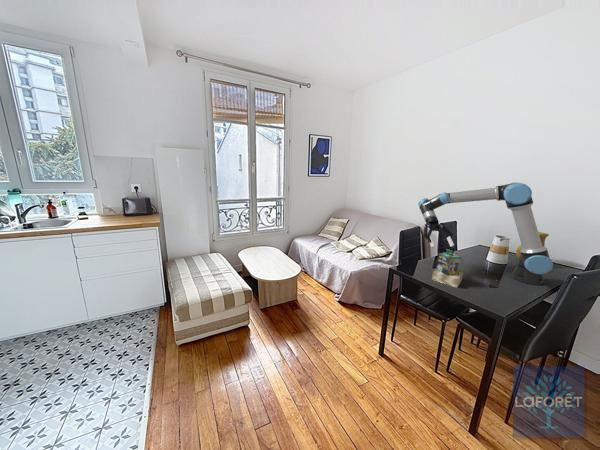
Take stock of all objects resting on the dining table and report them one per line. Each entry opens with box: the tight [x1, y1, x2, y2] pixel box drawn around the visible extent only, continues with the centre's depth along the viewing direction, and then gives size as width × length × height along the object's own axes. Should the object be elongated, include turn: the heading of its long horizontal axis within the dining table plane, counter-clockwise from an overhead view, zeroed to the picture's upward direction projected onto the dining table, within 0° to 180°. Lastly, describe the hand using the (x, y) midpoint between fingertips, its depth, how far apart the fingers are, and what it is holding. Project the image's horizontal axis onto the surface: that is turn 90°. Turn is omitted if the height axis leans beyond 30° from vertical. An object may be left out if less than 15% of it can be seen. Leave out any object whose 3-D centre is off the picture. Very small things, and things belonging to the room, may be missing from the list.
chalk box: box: [435, 248, 462, 275], centre depth 152 cm, size 9×9×15 cm
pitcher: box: [515, 231, 550, 259], centre depth 184 cm, size 17×19×25 cm
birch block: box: [431, 267, 464, 288], centre depth 153 cm, size 14×14×6 cm
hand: (442, 246), depth 155 cm, fingers open, 13 cm apart
